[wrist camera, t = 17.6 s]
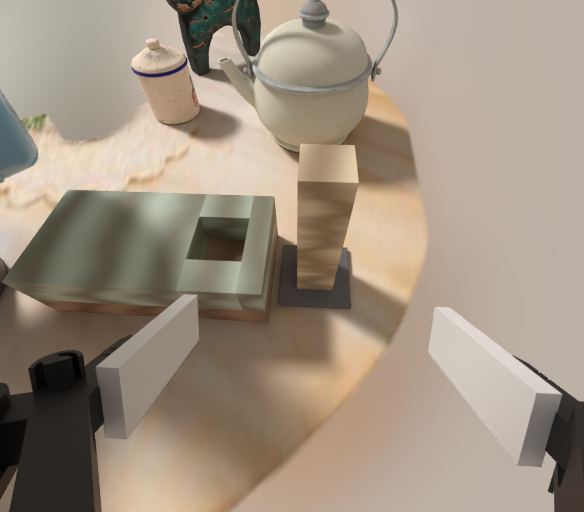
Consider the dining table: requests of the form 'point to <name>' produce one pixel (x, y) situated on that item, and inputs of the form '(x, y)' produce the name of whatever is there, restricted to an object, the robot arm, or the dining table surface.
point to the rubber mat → (310, 297)
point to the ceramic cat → (215, 26)
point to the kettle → (308, 78)
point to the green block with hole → (153, 254)
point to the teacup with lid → (166, 82)
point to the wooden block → (323, 211)
